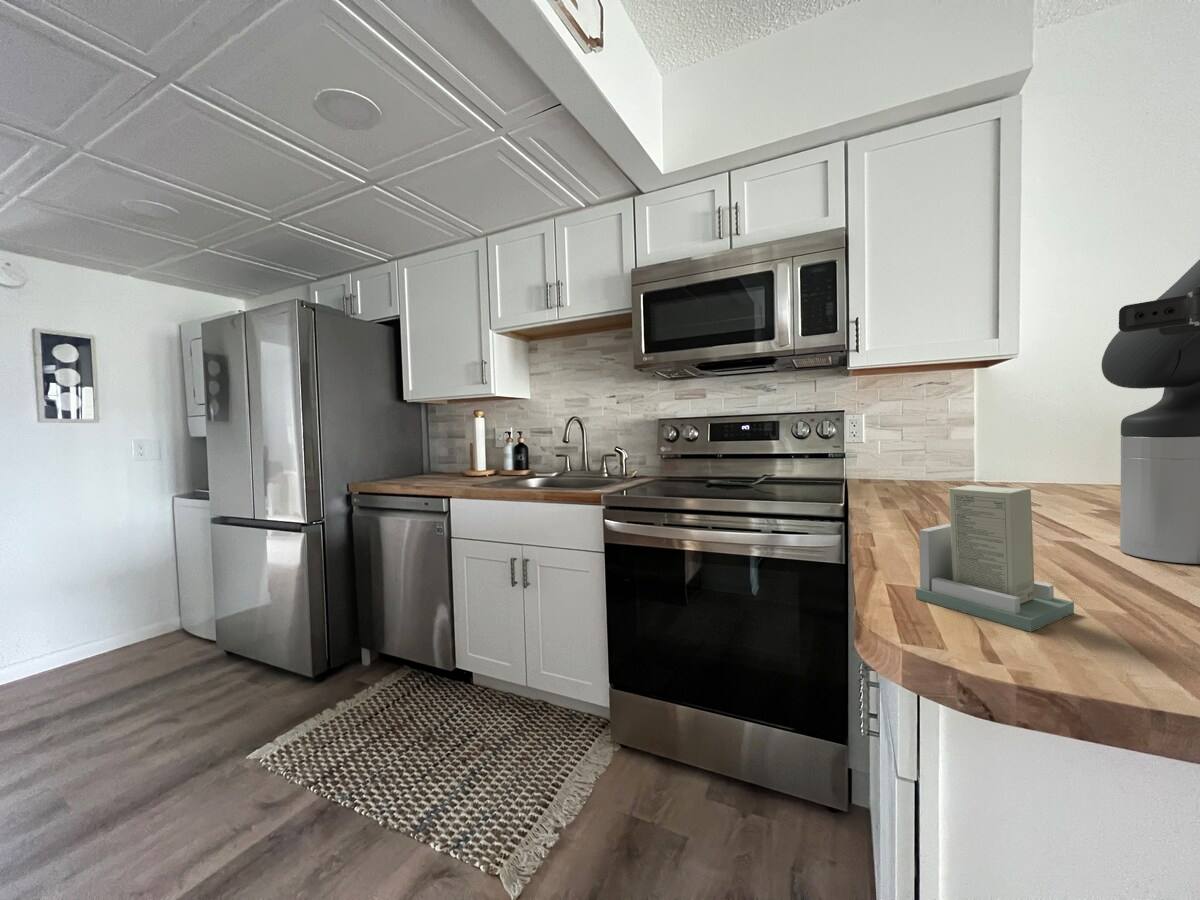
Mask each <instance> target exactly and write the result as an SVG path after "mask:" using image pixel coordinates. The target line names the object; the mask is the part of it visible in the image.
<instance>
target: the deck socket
mask: <svg viewBox="0 0 1200 900" xmlns="http://www.w3.org/2000/svg"><path fill="white" fill-rule="evenodd" d="M918 531H919V532H918V534H919V587H916V588H915V599H916V600H920V601H923V602H927V603H930V604H934V605H937V606H941V607H944V608H948V609H951V610H954V611H957V610H959V611H958V612H960V613H964V612H965V613H964V614H967V613H968V615H971V616H975V617H978V618H982V619H985V620H989V621H992V622H995V623H999V624H1002V625H1006V626H1009V627H1012V628H1016V629H1019V630H1022V631H1027V632H1031V633H1032V632H1034V631H1036V630H1035V629H1037V628H1039V627H1041V628H1043V627H1044V626H1043V625H1046V624H1048V625H1050V624H1053V623H1055V622H1056V620H1057V621H1059V620H1061V618H1062V619H1064V618H1066V617H1068V616H1071V615H1073V614H1074V613H1075V601H1072V600H1068V599H1067V600H1066V599H1064V598H1063V599H1062V598H1059V597H1054V592H1055V591H1054V584H1050V583H1045V582H1040V581H1036V580H1034V594H1035V598H1034V599H1031V600H1029V601H1027V602H1024V603H1022V604H1020V597H1016V596H1012V595H1008V594H1004V593H999V592H995V591H991V590H987V589H983V588H979V587H975V586H971V585H967V584H963V583H958V582H954V581H953V573H952V549H951V526H950V523H946V524H941V525H936V526H932V527H927V528H922V529H919V530H918ZM1072 613H1073V614H1072ZM1070 614H1071V615H1070ZM1065 616H1066V617H1065ZM1063 617H1064V618H1063ZM1054 621H1055V622H1054ZM1052 622H1053V623H1052ZM1049 623H1050V624H1049ZM1042 626H1043V627H1042ZM1046 626H1047V625H1046ZM1039 629H1040V628H1039ZM1037 630H1038V629H1037Z"/></svg>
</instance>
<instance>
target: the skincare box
mask: <svg viewBox="0 0 1200 900" xmlns="http://www.w3.org/2000/svg"><path fill="white" fill-rule="evenodd" d="M948 495H949V496H948V498H949V502H948V503H949V520H950V526H951V549H952V573H953V581H954V582H958V583H963V584H967V585H971V586H975V587H979V588H983V589H987V590H991V591H995V592H999V593H1004V594H1008V595H1012V596H1016V597H1020V604H1022V603H1024V602H1027V601H1029V600H1031V599H1034V598H1035V594H1034V581H1035V570H1034V566H1035V565H1034V542H1033V541H1034V540H1033V539H1034V538H1033V537H1034V536H1033V517H1032V514H1033V513H1032V489H1031V488H1028V487H1027V488H1025V487H1007V486H1005V487H1004V486H991V485H979V484H978V485H976V484H967V485H962V486H955V487H949V488H948Z"/></svg>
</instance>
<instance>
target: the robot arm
mask: <svg viewBox="0 0 1200 900" xmlns="http://www.w3.org/2000/svg"><path fill="white" fill-rule="evenodd" d="M1118 330H1119V331H1117V333H1115V336H1113V337H1112V339H1111V340H1110V341H1109V343H1108V344H1107V346H1106V349H1105V351H1104V353H1103V356H1102V359H1101V373H1102V374H1103V377H1104V378H1105V379H1106V380H1107V381H1108V382H1109V383H1110V384H1112V385H1115V386H1116V387H1121V388H1124V389H1125V388H1126V389H1142V390H1146V389H1163V393H1162V397H1161V399H1160V400H1159V401H1158V402H1156V403H1155V404H1154V405H1152V406H1150V407H1148V408H1146V409H1144V410H1140V411H1139V412H1135V413H1132V414H1128V415H1126V416H1125V417H1124V418H1123V419H1122V420H1121V422H1120V517H1119V519H1120V520H1119V521H1120V524H1119V527H1120V528H1119V531H1120V532H1119V542H1120V543H1119V550H1120V551H1121V552H1122V553H1124V554H1127V555H1130V556H1134V557H1138V558H1143V559H1148V560H1154V561H1161V562H1166V563H1178V564H1196V565H1200V259H1198V261H1196V262H1195V263H1194V264H1193V265H1192V266H1191V267H1190V268H1189V269H1188V270H1187V271H1186V272H1185V273H1183V275H1181V277H1180V278H1179V279H1177V281H1176V282H1175V283H1174V284H1173V285H1172V286H1170V287H1169V288H1168V289H1167V290H1165V291H1164V293H1162V294H1161V295H1160V296H1159V297H1158V298H1157V299H1154V300H1149V301H1144V302H1137V303H1132V304H1126V305H1123V306H1122V307H1121V308H1120V309H1119V312H1118Z"/></svg>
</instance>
